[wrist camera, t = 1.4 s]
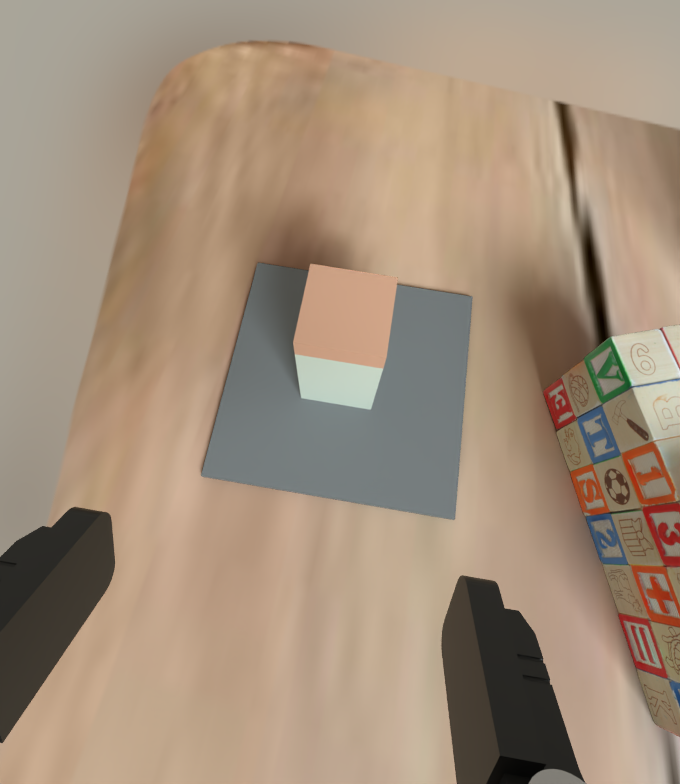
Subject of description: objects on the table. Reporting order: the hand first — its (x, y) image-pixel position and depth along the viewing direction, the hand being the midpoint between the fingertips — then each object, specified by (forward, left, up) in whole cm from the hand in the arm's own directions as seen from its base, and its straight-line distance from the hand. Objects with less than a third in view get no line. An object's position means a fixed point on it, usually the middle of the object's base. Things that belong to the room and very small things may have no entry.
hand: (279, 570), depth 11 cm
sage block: (0, -13, -20) cm, 24 cm away
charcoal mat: (0, -13, -20) cm, 24 cm away
